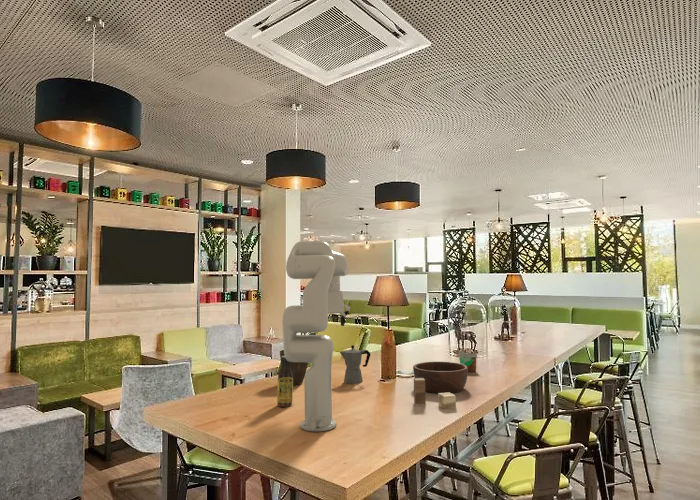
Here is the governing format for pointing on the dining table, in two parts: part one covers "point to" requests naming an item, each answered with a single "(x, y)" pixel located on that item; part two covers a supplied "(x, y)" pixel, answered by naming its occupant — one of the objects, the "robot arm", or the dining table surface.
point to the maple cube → (447, 400)
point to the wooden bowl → (442, 376)
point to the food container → (468, 360)
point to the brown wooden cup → (297, 370)
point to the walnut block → (419, 391)
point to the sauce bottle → (285, 384)
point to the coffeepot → (354, 364)
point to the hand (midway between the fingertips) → (332, 326)
